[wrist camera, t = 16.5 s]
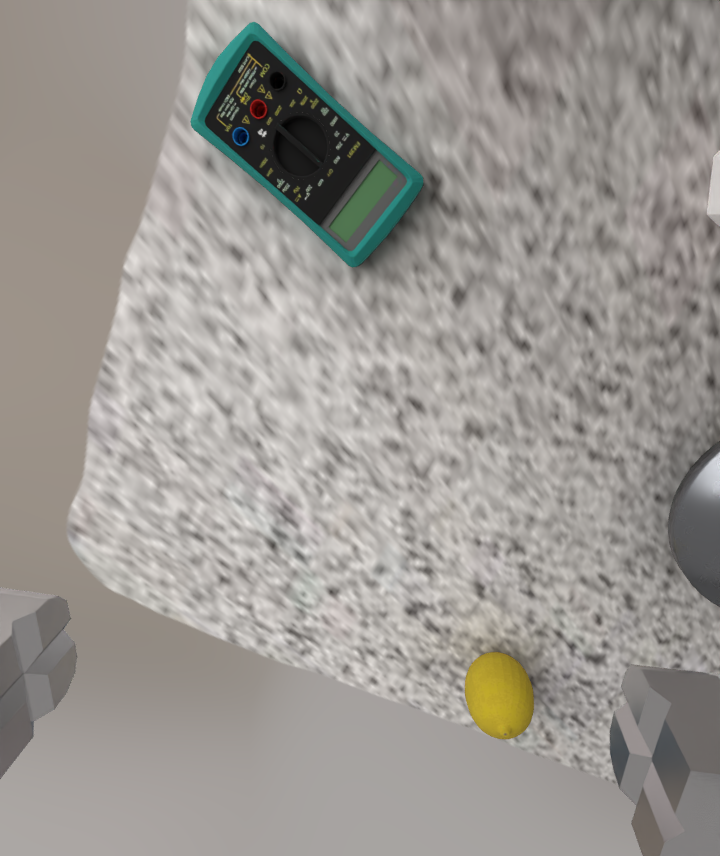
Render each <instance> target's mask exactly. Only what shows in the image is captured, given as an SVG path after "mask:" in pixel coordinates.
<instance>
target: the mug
mask: <svg viewBox="0 0 720 856" xmlns="http://www.w3.org/2000/svg"><path fill="white" fill-rule="evenodd" d="M707 216H709V217H710V218H711V219H712V220H713V221H714V222H715V223H716V224H717V225H718V226H719V227H720V150H719V151H718V152H717V153H716V154H715V155H714V156H713V165H712V173H711V182H710V190H709V199H708V207H707Z"/></svg>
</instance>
